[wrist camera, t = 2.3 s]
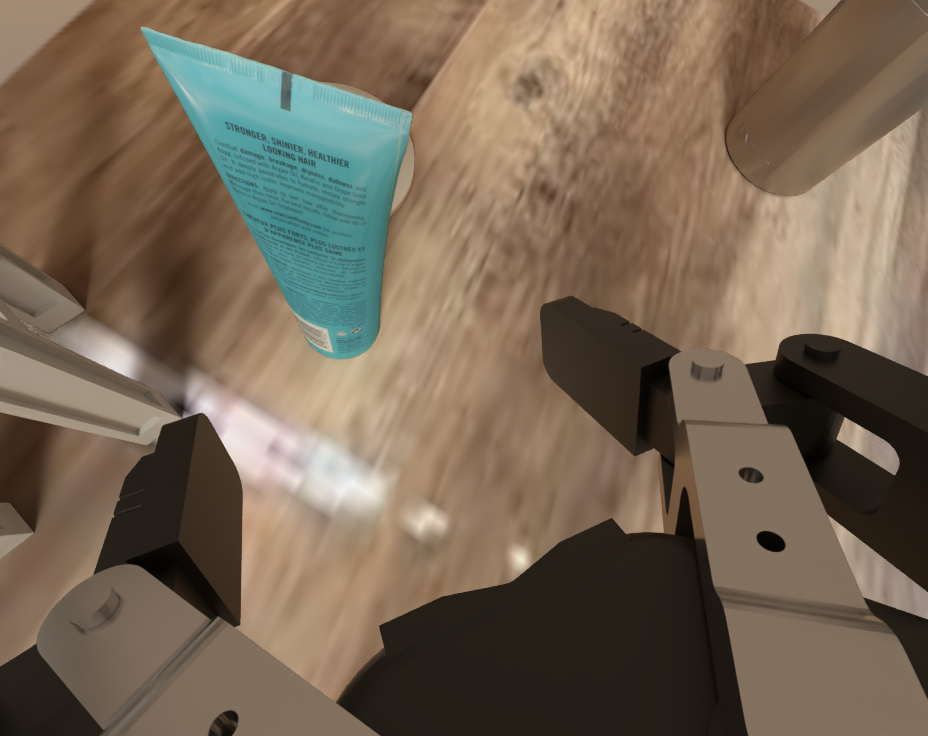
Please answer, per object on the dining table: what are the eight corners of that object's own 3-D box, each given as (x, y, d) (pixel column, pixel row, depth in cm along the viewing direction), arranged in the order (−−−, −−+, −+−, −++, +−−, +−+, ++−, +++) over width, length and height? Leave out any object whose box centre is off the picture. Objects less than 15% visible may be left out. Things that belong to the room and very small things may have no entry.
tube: (403, 302, 32) (427, 44, 14) (389, 369, 31) (397, 181, 12) (292, 280, 31) (162, -25, 13) (273, 348, 30) (99, 113, 12)
